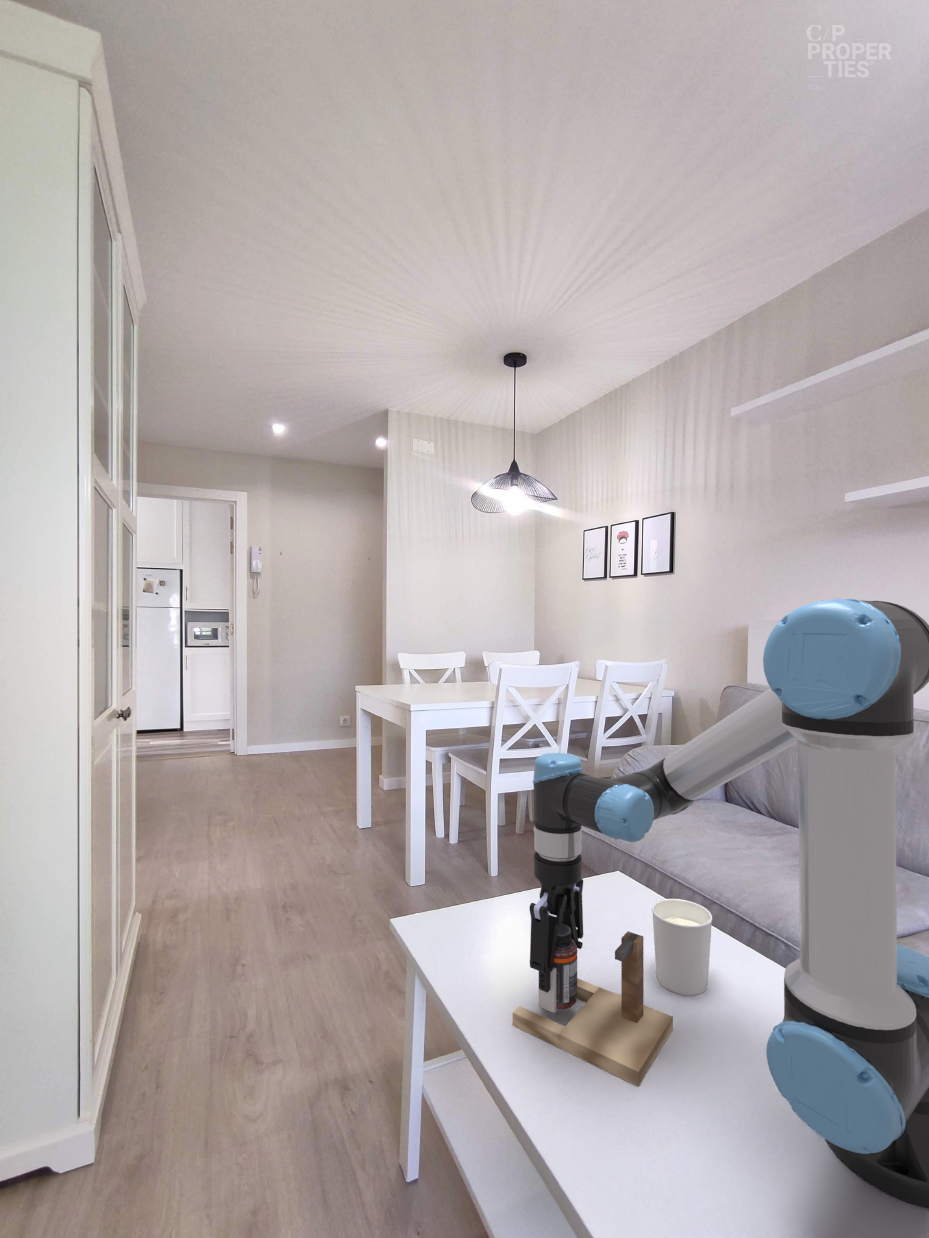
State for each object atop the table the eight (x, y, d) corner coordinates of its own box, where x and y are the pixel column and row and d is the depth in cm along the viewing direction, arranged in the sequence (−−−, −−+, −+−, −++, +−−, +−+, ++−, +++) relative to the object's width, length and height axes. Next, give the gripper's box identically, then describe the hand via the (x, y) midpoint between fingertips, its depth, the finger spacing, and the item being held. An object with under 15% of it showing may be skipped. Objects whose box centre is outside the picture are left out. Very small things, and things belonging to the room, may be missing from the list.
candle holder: (717, 1002, 98) (717, 929, 98) (655, 994, 100) (655, 922, 100) (706, 968, 107) (706, 901, 107) (649, 961, 109) (649, 896, 109)
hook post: (643, 1014, 92) (643, 936, 92) (627, 1037, 87) (626, 955, 87) (627, 1008, 93) (627, 931, 93) (610, 1030, 88) (610, 949, 88)
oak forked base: (672, 1029, 91) (672, 1016, 91) (638, 1086, 80) (638, 1071, 80) (556, 981, 103) (556, 969, 103) (512, 1025, 92) (512, 1012, 92)
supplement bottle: (531, 998, 95) (531, 927, 96) (555, 983, 100) (555, 915, 100) (561, 1016, 91) (561, 942, 91) (585, 999, 95) (584, 928, 95)
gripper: (564, 830, 105) (564, 962, 105) (505, 866, 90) (505, 1019, 90) (604, 840, 101) (604, 977, 101) (548, 879, 86) (549, 1040, 86)
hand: (557, 997), depth 95 cm, fingers closed on supplement bottle, 6 cm apart
